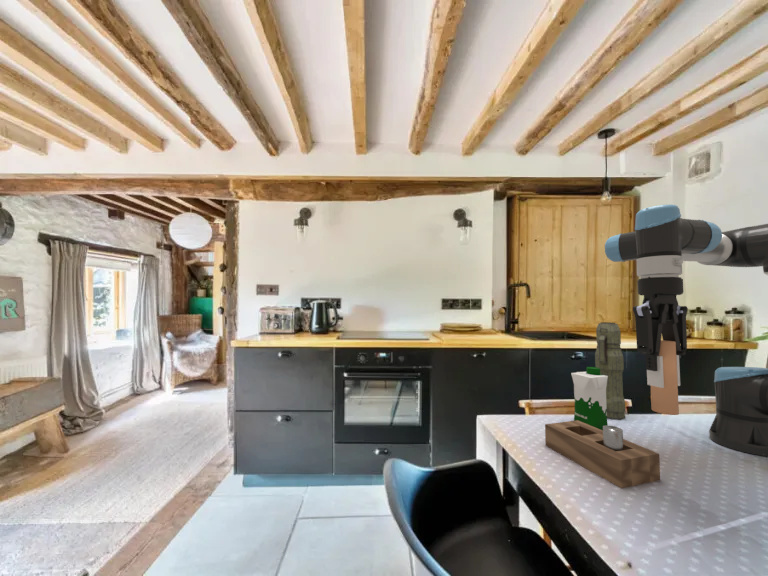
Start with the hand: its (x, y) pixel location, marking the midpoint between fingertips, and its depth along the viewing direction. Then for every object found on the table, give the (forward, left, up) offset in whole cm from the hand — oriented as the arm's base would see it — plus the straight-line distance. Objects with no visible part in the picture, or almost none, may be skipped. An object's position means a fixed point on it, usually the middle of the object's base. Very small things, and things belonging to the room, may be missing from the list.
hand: (663, 385), depth 68 cm
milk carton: (-21, -36, -25) cm, 49 cm away
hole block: (0, -16, -24) cm, 29 cm away
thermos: (-39, -43, -25) cm, 63 cm away
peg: (0, 0, -6) cm, 6 cm away
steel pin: (0, -12, -23) cm, 26 cm away
